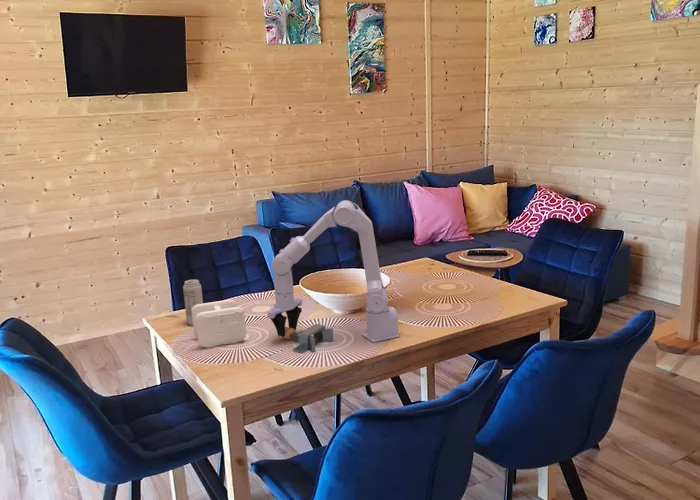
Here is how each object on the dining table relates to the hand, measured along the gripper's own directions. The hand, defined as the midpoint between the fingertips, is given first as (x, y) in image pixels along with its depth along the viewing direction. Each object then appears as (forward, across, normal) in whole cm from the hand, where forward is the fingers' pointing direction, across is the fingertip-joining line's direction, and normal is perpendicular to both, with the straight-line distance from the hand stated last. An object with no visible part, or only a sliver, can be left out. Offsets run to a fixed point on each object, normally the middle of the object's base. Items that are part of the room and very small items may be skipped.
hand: (287, 333), depth 206 cm
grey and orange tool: (+2, 0, +4) cm, 5 cm away
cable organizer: (+2, +12, -18) cm, 22 cm away
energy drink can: (+2, +4, -38) cm, 38 cm away
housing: (+2, 0, +11) cm, 12 cm away
